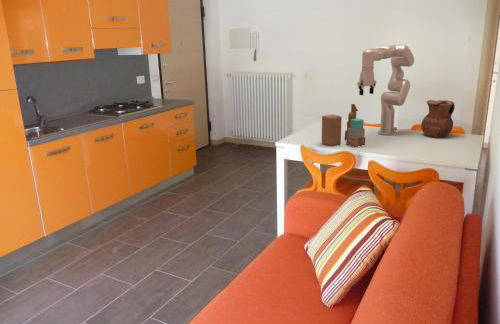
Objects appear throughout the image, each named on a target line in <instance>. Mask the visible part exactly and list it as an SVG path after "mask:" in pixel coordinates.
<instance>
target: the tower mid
mask: <svg viewBox="0 0 500 324" xmlns="http://www.w3.org/2000/svg"><path fill="white" fill-rule="evenodd" d="M365 131H366V130H365V128H364V127H363V129H358V130H356V129H351V128H348V131H347V137H350V138H354V139H358V138H362V137H365Z"/></svg>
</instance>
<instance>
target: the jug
mask: <svg viewBox="0 0 500 324" xmlns="http://www.w3.org/2000/svg"><path fill="white" fill-rule="evenodd" d="M426 104H427V106H428V113H427V114H426V116H424V118H423V119H422V121H421V130H422V132H423V134H425V135H426V136H428V137H431V138H444V137H447V136H448V135H449V134H451V132H452V130H453V127H454V121H453V119H452V115H453V113H454V111H455V107H456V106H455V102H454V101H451V100H446V99H445V100H443V99H442V100H440V99H439V100H436V99H435V100H434V99H429V100H427V101H426Z"/></svg>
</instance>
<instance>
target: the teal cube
mask: <svg viewBox="0 0 500 324" xmlns="http://www.w3.org/2000/svg"><path fill="white" fill-rule="evenodd" d="M350 128H351V129H356V130H358V129H363V128H364V119H363V120H362V118H356V119H351V125H350Z"/></svg>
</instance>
